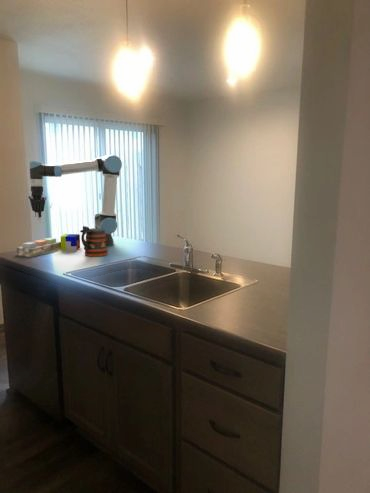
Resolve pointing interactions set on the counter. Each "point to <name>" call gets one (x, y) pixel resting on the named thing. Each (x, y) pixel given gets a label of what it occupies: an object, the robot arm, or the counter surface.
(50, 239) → the key sage
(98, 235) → the beer stein
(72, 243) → the puzzle toy
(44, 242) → the key terracotta
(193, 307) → the counter surface
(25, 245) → the key slate
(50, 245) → the key console
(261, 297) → the counter surface
